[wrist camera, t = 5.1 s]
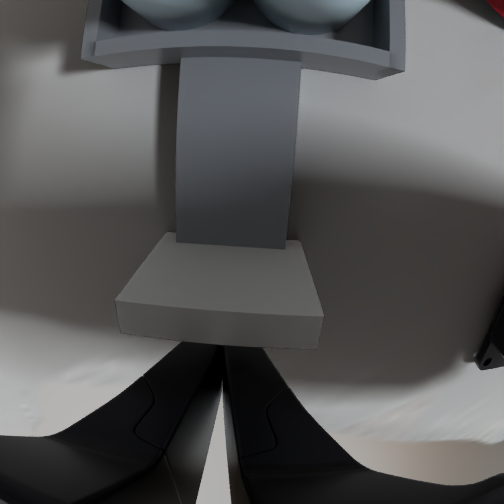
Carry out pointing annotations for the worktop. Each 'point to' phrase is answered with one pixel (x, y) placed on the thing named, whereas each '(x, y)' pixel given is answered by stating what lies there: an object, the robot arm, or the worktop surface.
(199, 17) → the pale blue cylinder
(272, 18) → the pale blue cylinder
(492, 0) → the soda can
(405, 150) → the worktop surface
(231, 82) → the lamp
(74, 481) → the robot arm
